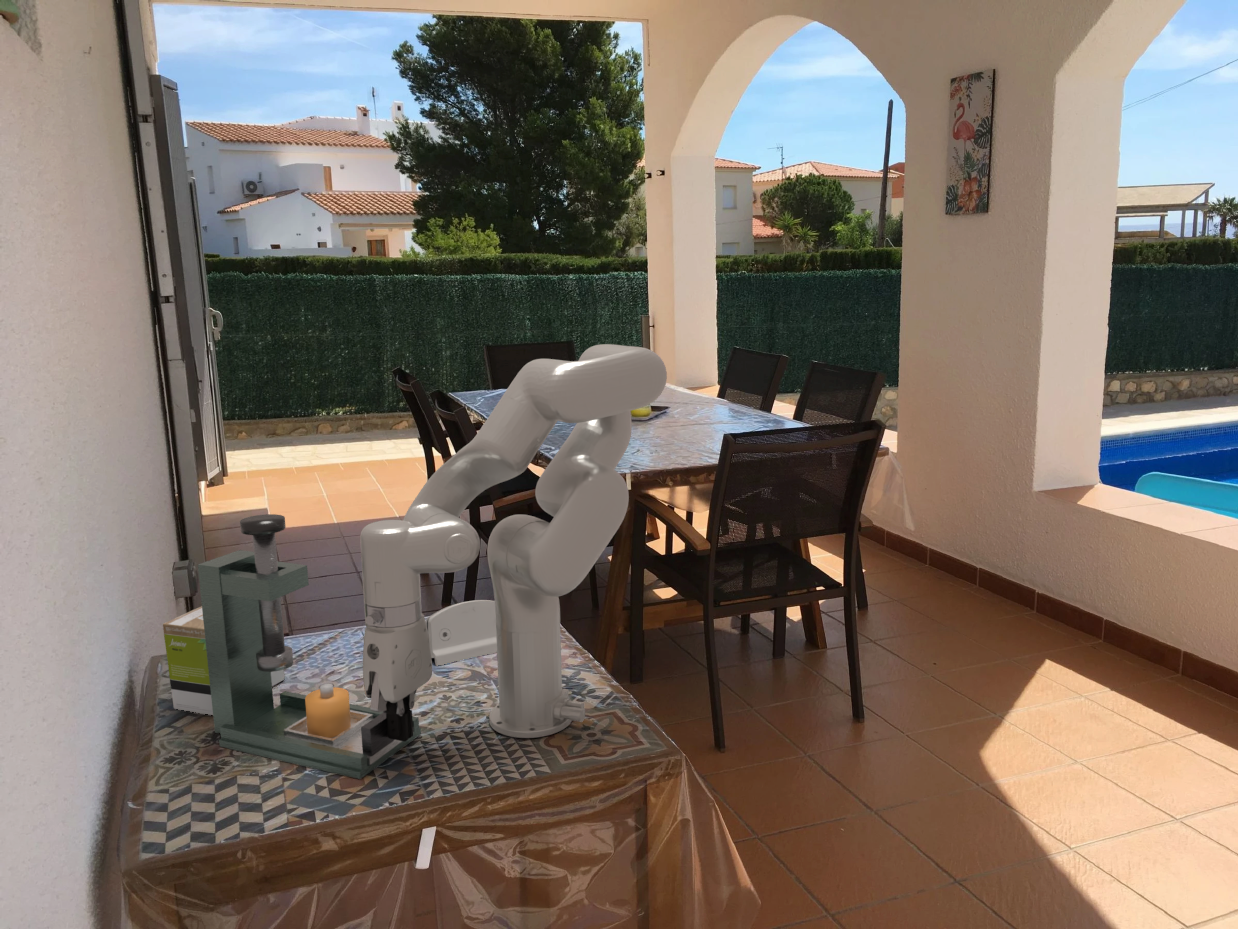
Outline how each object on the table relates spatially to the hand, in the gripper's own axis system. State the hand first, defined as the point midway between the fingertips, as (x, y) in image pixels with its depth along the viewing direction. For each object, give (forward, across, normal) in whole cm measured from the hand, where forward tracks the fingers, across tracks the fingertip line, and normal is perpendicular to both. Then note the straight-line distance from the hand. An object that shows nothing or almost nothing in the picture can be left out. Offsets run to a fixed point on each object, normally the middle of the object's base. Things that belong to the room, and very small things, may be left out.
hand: (400, 737), depth 133 cm
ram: (-7, 0, +22) cm, 23 cm away
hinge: (+3, +38, +12) cm, 40 cm away
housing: (+1, 0, +13) cm, 13 cm away
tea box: (+4, +8, +39) cm, 40 cm away
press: (+3, 0, +16) cm, 17 cm away
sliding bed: (+2, 0, +9) cm, 10 cm away
